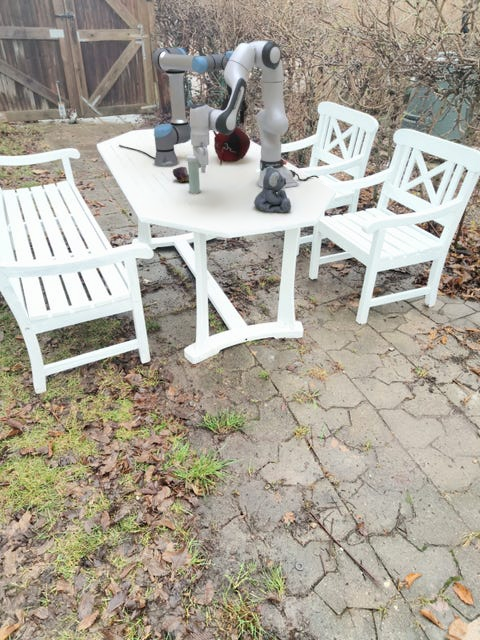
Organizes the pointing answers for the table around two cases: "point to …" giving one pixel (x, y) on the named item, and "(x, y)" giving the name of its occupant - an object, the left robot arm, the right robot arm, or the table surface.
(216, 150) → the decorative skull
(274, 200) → the koala plush
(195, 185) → the jar
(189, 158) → the lid
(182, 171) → the rock
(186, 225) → the table surface
